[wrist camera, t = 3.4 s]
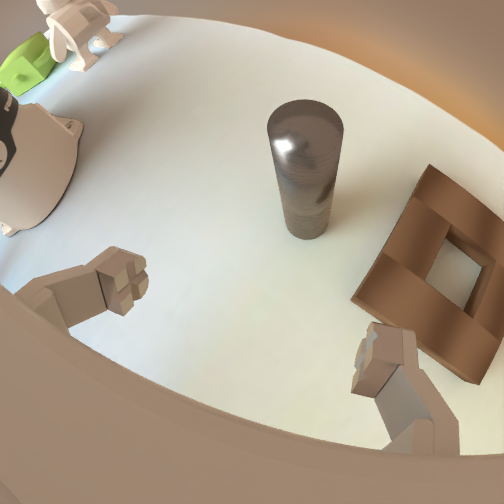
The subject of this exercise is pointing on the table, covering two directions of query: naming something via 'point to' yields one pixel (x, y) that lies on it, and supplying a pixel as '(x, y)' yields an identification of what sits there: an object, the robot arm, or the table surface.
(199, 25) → the table surface
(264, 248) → the table surface
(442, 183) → the socket plate
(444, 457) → the robot arm
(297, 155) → the steel pin
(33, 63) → the lime green lipped cube
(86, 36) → the toy robot
